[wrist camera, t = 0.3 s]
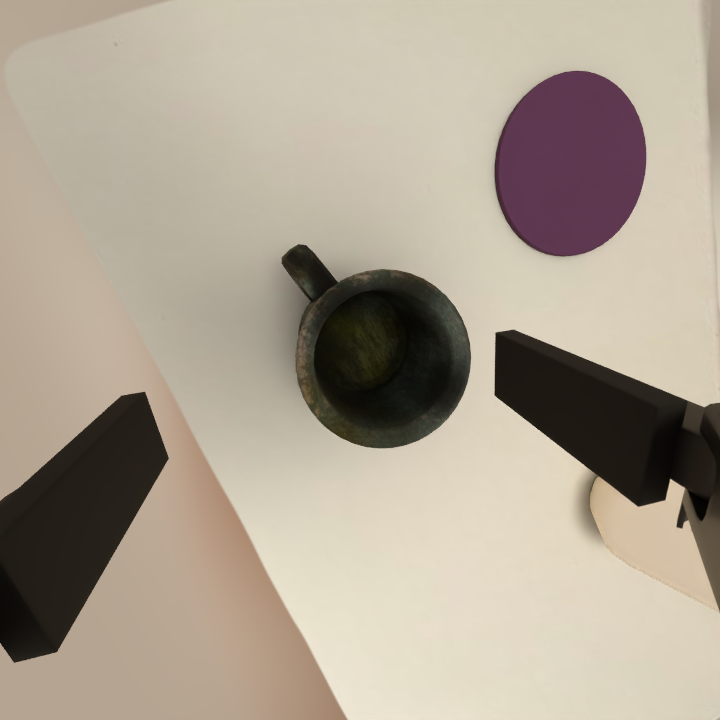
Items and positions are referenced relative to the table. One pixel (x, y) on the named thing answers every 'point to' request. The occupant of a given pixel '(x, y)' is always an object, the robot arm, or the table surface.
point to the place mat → (570, 163)
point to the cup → (652, 539)
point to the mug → (377, 352)
